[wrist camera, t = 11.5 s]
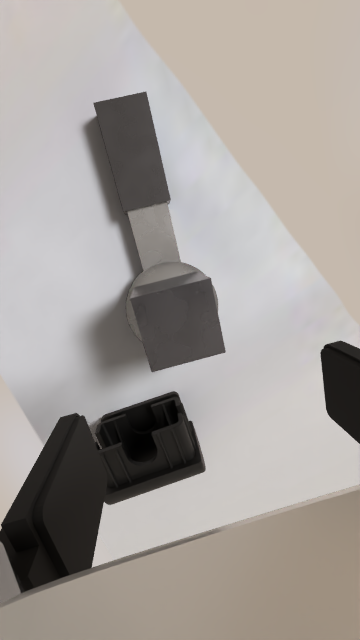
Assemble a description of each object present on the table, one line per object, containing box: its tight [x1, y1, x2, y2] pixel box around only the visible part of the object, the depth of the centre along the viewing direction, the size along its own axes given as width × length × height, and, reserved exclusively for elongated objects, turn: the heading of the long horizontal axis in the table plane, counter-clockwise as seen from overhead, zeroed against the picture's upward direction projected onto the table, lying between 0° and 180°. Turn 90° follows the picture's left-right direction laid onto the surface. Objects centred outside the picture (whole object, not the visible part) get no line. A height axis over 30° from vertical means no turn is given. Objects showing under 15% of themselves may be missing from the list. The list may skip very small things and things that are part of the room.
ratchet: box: [94, 92, 218, 342], centre depth 23 cm, size 22×9×5 cm, turn 13°
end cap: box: [95, 392, 205, 505], centre depth 27 cm, size 10×7×7 cm
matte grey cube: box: [130, 272, 225, 372], centre depth 22 cm, size 6×6×6 cm
